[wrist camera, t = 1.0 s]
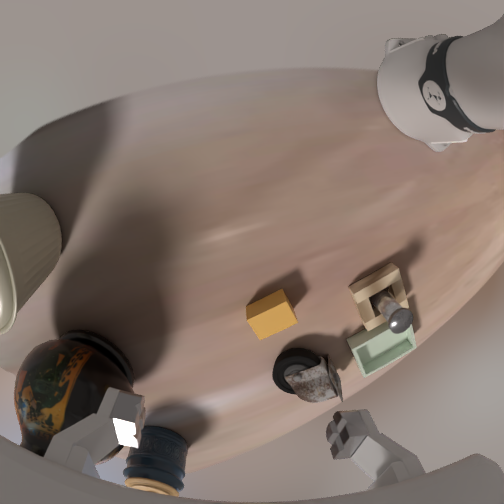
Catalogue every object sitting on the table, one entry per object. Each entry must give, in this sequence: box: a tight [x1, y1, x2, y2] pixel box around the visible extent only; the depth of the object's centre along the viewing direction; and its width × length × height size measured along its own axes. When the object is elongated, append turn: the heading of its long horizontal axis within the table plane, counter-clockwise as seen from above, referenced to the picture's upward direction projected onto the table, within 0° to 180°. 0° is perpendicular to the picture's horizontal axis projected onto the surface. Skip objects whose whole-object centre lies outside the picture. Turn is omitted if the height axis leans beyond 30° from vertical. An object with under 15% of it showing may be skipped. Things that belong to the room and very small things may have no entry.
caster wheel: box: [273, 348, 343, 403], centre depth 46 cm, size 7×11×10 cm
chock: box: [246, 289, 298, 340], centre depth 42 cm, size 6×4×4 cm, turn 118°
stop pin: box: [369, 289, 413, 334], centre depth 40 cm, size 4×4×9 cm
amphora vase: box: [14, 330, 134, 466], centre depth 33 cm, size 22×22×28 cm
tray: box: [346, 321, 417, 378], centre depth 46 cm, size 11×8×3 cm
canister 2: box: [123, 426, 188, 497], centre depth 46 cm, size 13×13×18 cm
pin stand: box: [348, 263, 409, 331], centre depth 43 cm, size 8×8×2 cm
